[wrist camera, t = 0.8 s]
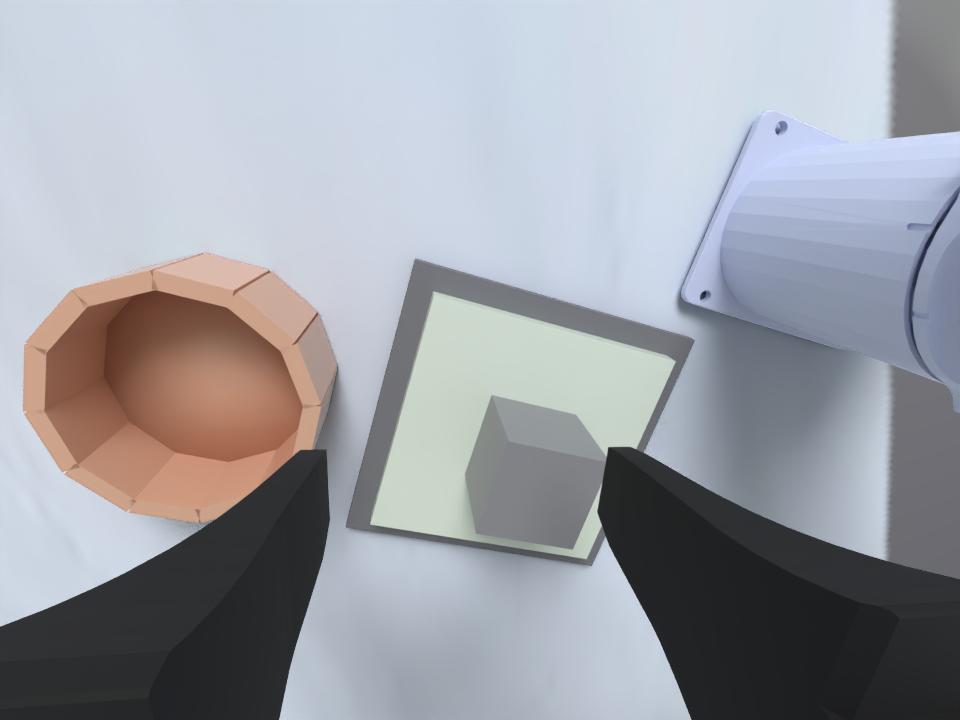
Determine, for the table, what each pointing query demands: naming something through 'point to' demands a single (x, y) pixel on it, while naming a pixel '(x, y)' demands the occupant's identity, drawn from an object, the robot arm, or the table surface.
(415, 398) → the sheet lid
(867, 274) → the robot arm
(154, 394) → the tan bowl
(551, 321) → the mat
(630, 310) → the table surface
